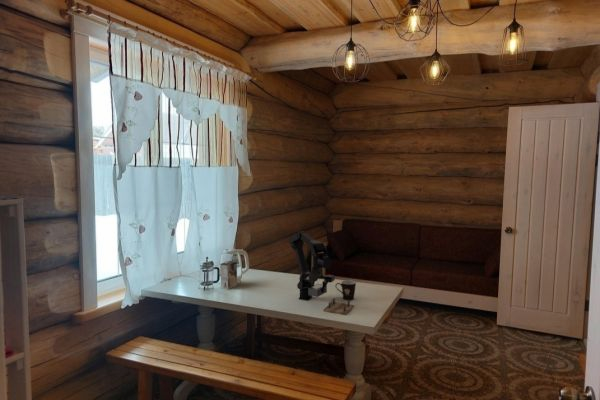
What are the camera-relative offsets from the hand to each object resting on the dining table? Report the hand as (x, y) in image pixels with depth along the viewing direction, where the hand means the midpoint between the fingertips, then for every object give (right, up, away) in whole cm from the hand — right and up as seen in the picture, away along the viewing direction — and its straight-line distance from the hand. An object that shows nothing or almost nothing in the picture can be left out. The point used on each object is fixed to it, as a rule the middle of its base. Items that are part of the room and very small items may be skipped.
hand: (317, 291), depth 230 cm
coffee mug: (+18, -7, +14) cm, 24 cm away
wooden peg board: (+12, -9, -4) cm, 15 cm away
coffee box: (-56, -5, +34) cm, 66 cm away
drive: (0, -1, 0) cm, 1 cm away
